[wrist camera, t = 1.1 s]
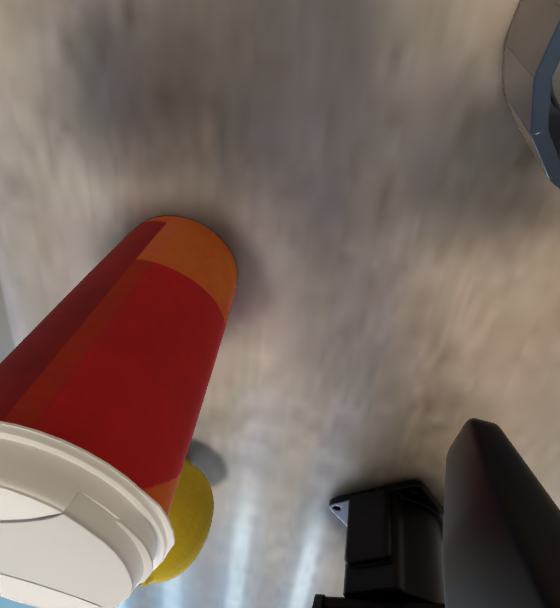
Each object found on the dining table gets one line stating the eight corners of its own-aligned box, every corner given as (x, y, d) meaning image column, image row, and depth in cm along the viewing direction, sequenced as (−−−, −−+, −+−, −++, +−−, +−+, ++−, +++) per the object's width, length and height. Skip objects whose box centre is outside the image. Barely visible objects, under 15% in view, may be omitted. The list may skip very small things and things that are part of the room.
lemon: (140, 468, 36) (87, 587, 29) (153, 422, 32) (95, 545, 26) (216, 494, 36) (179, 618, 30) (236, 451, 33) (199, 580, 26)
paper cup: (121, 322, 27) (-59, 596, 16) (86, 187, 23) (-196, 444, 12) (265, 337, 26) (176, 641, 15) (260, 198, 22) (126, 492, 11)
